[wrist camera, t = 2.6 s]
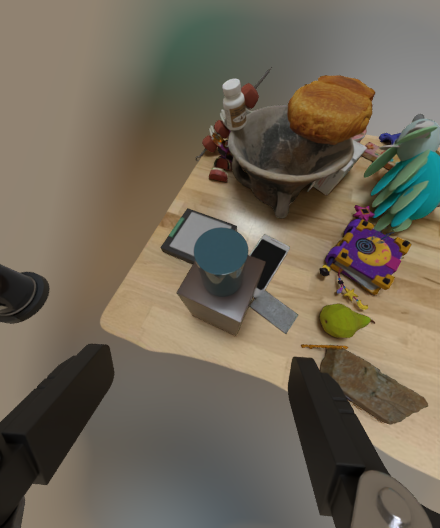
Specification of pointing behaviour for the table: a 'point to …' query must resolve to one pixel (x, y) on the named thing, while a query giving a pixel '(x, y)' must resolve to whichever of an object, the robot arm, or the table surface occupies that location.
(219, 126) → the skewer
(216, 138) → the toy car
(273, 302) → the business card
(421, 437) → the table surface
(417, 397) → the stone
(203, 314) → the stand
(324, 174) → the bowl
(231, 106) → the pill bottle
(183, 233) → the scale
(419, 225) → the table surface
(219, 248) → the jar
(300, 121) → the bread loaf
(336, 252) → the book
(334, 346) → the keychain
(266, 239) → the smartphone
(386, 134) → the blue irregular piece
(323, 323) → the fruit
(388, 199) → the teal bird figurine
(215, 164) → the dentures model
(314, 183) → the ink box
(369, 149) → the toy
